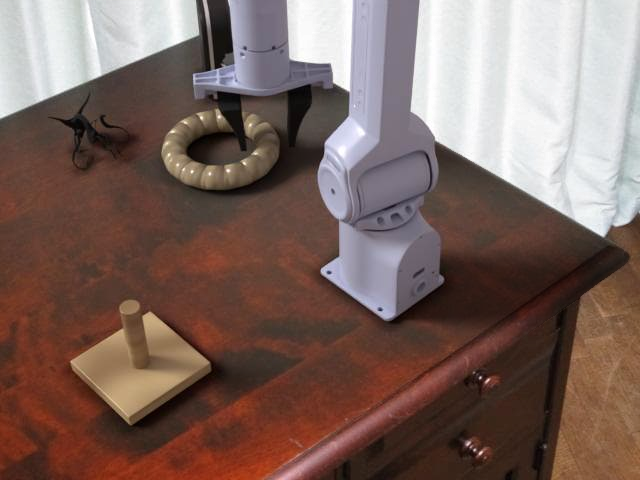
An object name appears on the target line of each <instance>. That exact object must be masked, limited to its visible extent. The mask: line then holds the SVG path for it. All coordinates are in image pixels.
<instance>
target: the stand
mask: <svg viewBox="0 0 640 480" xmlns="http://www.w3.org/2000/svg"><path fill="white" fill-rule="evenodd" d="M119 315H120V320H121V325H122V328H121V329H119V330H117V331H116V332H114V333H113V334H111V335H110V336H108V337H106V338H105V339H103V340H102V341H100V342H98V343H97V344H95V345H94V346H92V347H90V348H88V349H87V350H86V351H84V352H82V353H81V354H79V355H77V356H76V357H74V358H72V359H71V360H70V361H69V362H70V366H71V369H72V371H73V372H74V373H75V374H76V375H77V376H78V377H79V378H81V380H82V381H83V382H84V383H85V384H87V385H88V386H89V387H90V389H92V391H94V392H95V393H96V394H97V395H98V396H99V397H100V398H101V399H102V400H103V401H104V402H105V403H106V404H107V405H109V407H110V408H112V410H114V411H115V412H116V413H117V414H118V415H119V416H120V417H121V418H122V419H123V420H124V421H125V422H126V423H127V424H128V425H129V426H133V425H134V424H136V423H137V422H139V421H140V420H142V419H143V418H145V417H146V416H147V415H149V414H150V413H152V412H154V411H155V410H156V409H158V408H159V407H161V406H163V405H165V403H166V402H168V401H170V400H171V399H173V398H174V397H175V396H177V395H178V394H180V393H182V392H183V391H184V390H186V389H188V388H189V387H191V385H193V384H195V383H196V382H198V381H199V380H201V379H202V378H204V377H205V376H207V375H208V374H209V373H211V372H212V364H211V362H210V361H209V360H208V359H207V358H206V357H205V356H204V355H202V354H201V353H200V352H199V351H198V350H196V349H195V348H194V347H193V346H192V345H191V344H189V342H187V341H186V340H184V338H182V337H181V336H180V335H178V334H177V333H176V332H175V331H174V330H173V329H172V328H170V326H168V325H167V324H166V323H165V322H164V321H162V320H161V319H160V318H159V317H158V316H157V315H155V314H154V313H153V312H152V311H148V312H146V313H145V314H144V315H143V313H142V306H141V303H140V302H139V301H137V300H135V299H127V300H125V301H122V302H121V304H120V305H119Z"/></svg>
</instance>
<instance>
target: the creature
mask: <svg viewBox="0 0 640 480" xmlns="http://www.w3.org/2000/svg"><path fill="white" fill-rule="evenodd" d="M90 97H91V91H88V95H87V97H86V99H85V100H84V102H83V103H82V105H81V106H80V108H79V109H78V110H77V112H76V113H75V114H74V115H73V117H72V118H69V119H63V118H60V117H53V116H47V118H48V119H52V120H55V121H58V122H60V123H62V124H63V125H64V126H66V127H68V128H70V129H72V130H73V140H74V141H73V142H74V149H73V150H72V156H71V161H72V164H73V165H74V166H75V167H76V168H77V169H79V170H87V169H88V168H89V161H90V158H91V157H92V154H87V155H86V154H85V155H84V154H81V153H80V149H79V148H80V147H81V146H80V145H81V143H82V140H83V139H84V135H85V132H86V136H87V139H88V141H89V142H90V143H91V144H94V143H96V142H97V140H99V141H100V144H101V146H102V147H101V148H102V149H103V150H104V151H108V152H110V153H111V155H112V156H113V158H114V159H115V160H118V158H117V157H116V155H115V153H114V152H113V150H112V149H111V148H109V147H107V146H108V145H110V146H111V147H115V148H116V151H117V152H118V154H119V156H120V157H122V156H123V155H122V153H121V151H120V149H119V147H118V145H117V144H116V141H112V139H111V137H110V135H108V133H107V132H103V131H102V132H101V133H99V132H98V131H97V130H96V125H97V121H98V119H99V121H100V123H101V124H102V126H103V127H104V128H106V129H119V130H124V131H125V132H126V133H127V136H128V138H127V140H126V141H117V143H121V144H122V143H124V144H125V143H128V142H129V141H130V134H129V132H128V130H126V129H125V128H124V127H122V126H118V125H112V124H109V123H108V122H106V121H105V119H104V118H105V117H107V115H106V114H105V113H104V114H100V115H99V116H98V117H99V118H96V119H95V120H93V121H92V122H90V121H89V119H88V118H87V117H86V116H85V115H83V110H84V109H85V107H86V106H87V104H88V102H89V100H90ZM93 123H95V125H94V126H93V125H92V124H93ZM103 134H104V135H103ZM103 138H106V141H107V143H105V141H104V139H103ZM81 139H82V140H81ZM76 153H78V154H79V155H81V156H85V157H88V158H87V161H86V167H85V168H84V167H79V166H78V165H77V163H76V162H75V157H76Z"/></svg>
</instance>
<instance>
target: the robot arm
mask: <svg viewBox="0 0 640 480" xmlns="http://www.w3.org/2000/svg"><path fill="white" fill-rule="evenodd" d="M228 2H229V6H230V16H231V28H232V39H233V50H234V52H233V61H234V64H231V65H227V66H226V67H223V68H219V69H216V70H212V71H208V72H198V73H192V76H193V77H192V80H193V81H192V82H193V83H192V84H193V89H194V90H193V92H194V99H195V100H203V99H206V98H207V97H206V96H208V95H210V94H217V99H216V101H217V109H219V111H220V113H221V115H222V116H223V117H224V118H225V119H226V120H227V122H228V123H229V124H230V126H231V128H232V129H233V131H234V132H233V133H234V135H235V138H236V140H237V142H238V146H239V150H240V152H248V146H247V136H246V135H245V128H244V122H243V117H242V111H243V106H242V96H241V95H245V96H254V97H268V96H269V97H270V96H274V95H277V94H281V93H284V92H286V105H287V114H286V115H287V118H286V134H287V143H288V148H296V144H297V137H298V133H299V130H300V127H301V125H302V122H303V120H304V118H305V116H306V115H307V113H308V112H309V110H310V109H311V107H312V104H313V93H312V87H322V89H324V90H330V89H333V88H334V72H333V66H332V63H331V62H326V63H325V62H323V63H320V62H319V63H318V62H307V61H301V60H300V61H299V60H291V59H290V42H289V41H290V40H289V18H288V17H289V16H288V0H228ZM420 3H421V0H352V11H351V12H352V17H351V41H350V42H351V44H350V73H349V74H350V75H349V79H350V80H349V100H348V116H347V118H346V119H344V121H343V122H342V123H341V124H340V125H339V127H337V129H336V130H334V131H333V132H332V134H331V135H330V136H329V137H328V138H327V139H326V140H325V142H324V154H323V158H322V159H321V161H320V163H319V167H318V170H317V183H318V184H317V185H318V189H319V192H320V196H321V198H322V200H323V203H324V204H325V206H326V208H327V210H328V212H329V213H330V214H331V215H332V217H334V218H335V219H336V220H338V244H339V245H338V246H339V247H338V249H339V250H338V251H339V252H338V253H339V256H338V257H336V258H335V259H333V260H332V261H330V262H329V263H327V264H326V265H324V266H322V267H321V269H320V274H321V275H322V276H323V277H324V278H326V279H327V280H329V281H330V282H331V283H333V284H334V285H335V286H336V287H337V288H339V289H341V290H342V291H344V293H346V294H348V295H349V296H350V297H352V298H353V299H354V300H356V301H358V302H359V303H360V304H361V305H363V306H364V307H365V308H367V309H368V310H370V311H371V312H372V313H374V314H375V315H376V316H378V317H379V318H381V319H382V320H383V321H386V322H390V321H393V320H394V319H395V318H398V316H400V315H401V314H402V313H404V312H406V311H407V310H408V309H409V308H411V307H412V306H414V305H415V304H416V303H418V302H419V301H421V300H423V298H425V297H426V296H428V295H429V294H430V293H432V292H433V291H434V290H436V289H437V288H438V287H440V286H442V285H443V284H444V282H445V277H444V276H443V275H441V274H440V268H441V253H442V237H441V235H440V234H439V232H438V231H437V230H436V229H435V228H433V226H431V225H430V224H429V222H427V220H426V219H425V218H424V217H423V215H422V213H421V212H420V209H419V208H420V207H421V206H423V205H424V203H425V194H428V193H430V192H432V191H433V190H434V189H435V188H436V187H437V184H438V177H439V163H438V159H437V156H436V150H435V149H436V148H435V144H436V137H435V135H434V133H433V131H432V130H431V129H430V127H429V126H428V124H427V123H426V122H425V121H424V120H423V119H422V118H421V117H420V116H418V115H417V114H416V113H414V112H413V111H412V99H413V98H412V96H413V86H414V75H415V63H416V62H415V61H416V51H417V37H418V27H419V26H418V25H419V14H420Z"/></svg>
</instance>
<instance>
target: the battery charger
mask: <svg viewBox="0 0 640 480" xmlns="http://www.w3.org/2000/svg"><path fill="white" fill-rule="evenodd" d="M195 7H196V8H195V9H196V17H197V26H198V34H199V44H200V45H199V46H200V55H201V64H202V71H203V72H202V73H204V72H208V71H212V70H216V69H219V68H223V67H226V66H228V65H227V64H226V63H224V59H225V58H226V55H229V54H232V53H234V50H233V39H232V28H231V16H230V4H229V0H195ZM207 98H208V99H209V100H217V94H210V95H207Z"/></svg>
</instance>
